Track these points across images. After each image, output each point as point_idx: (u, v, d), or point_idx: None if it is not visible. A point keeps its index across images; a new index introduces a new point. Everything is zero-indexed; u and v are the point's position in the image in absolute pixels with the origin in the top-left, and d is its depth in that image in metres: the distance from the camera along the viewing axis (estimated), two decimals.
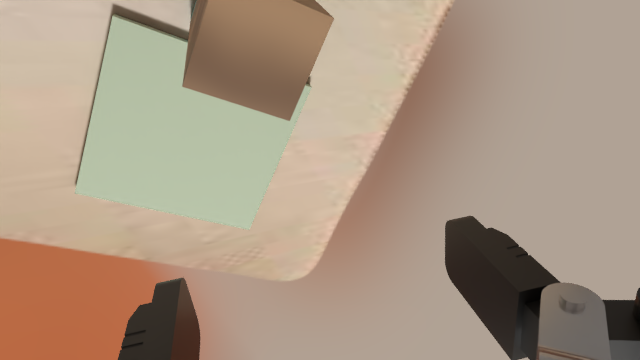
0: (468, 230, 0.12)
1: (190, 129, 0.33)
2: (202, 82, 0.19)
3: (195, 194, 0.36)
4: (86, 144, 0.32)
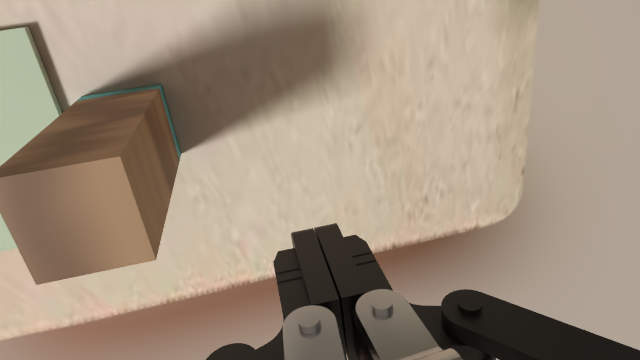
0: (326, 237, 0.13)
1: None
2: (5, 195, 0.17)
3: None
4: None
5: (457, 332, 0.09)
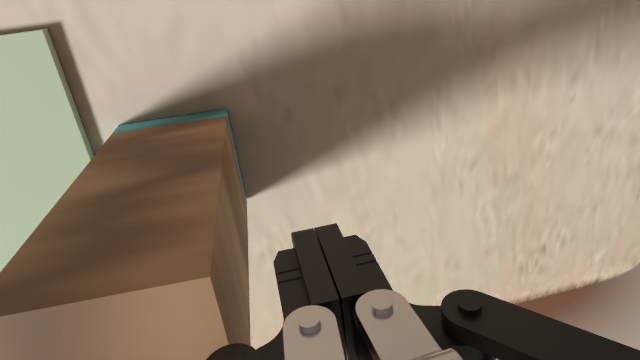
0: (326, 237, 0.13)
1: None
2: None
3: None
4: None
5: (457, 332, 0.09)
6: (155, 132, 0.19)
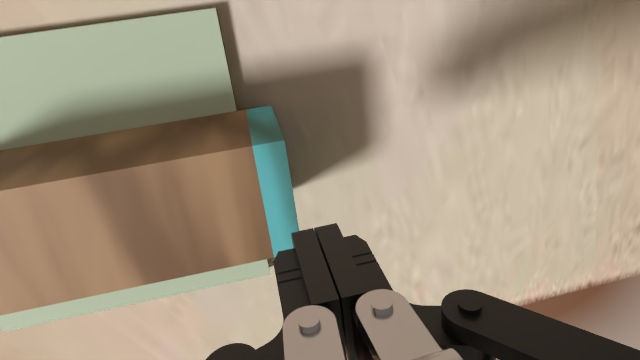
0: (326, 237, 0.13)
1: None
2: None
3: None
4: None
5: (457, 332, 0.09)
6: (228, 125, 0.19)
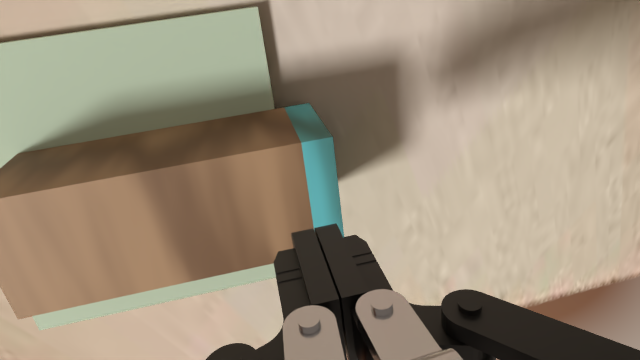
0: (326, 237, 0.13)
1: None
2: None
3: None
4: (19, 43, 0.18)
5: (457, 332, 0.09)
6: (270, 122, 0.19)
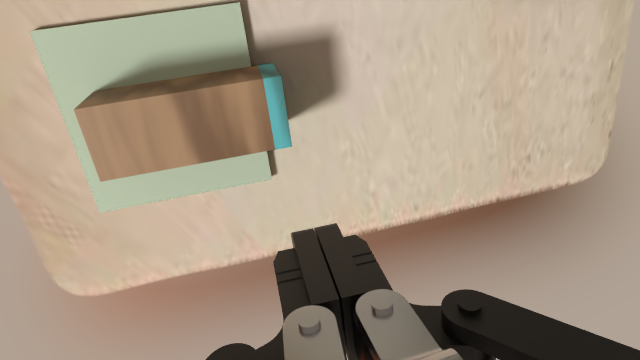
0: (326, 237, 0.13)
1: None
2: None
3: None
4: (99, 23, 0.30)
5: (457, 332, 0.09)
6: (247, 72, 0.31)
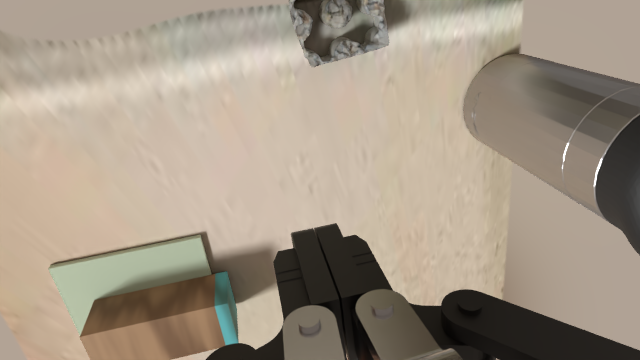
0: (326, 237, 0.13)
1: None
2: None
3: None
4: (98, 259, 0.42)
5: (457, 332, 0.09)
6: (206, 287, 0.43)
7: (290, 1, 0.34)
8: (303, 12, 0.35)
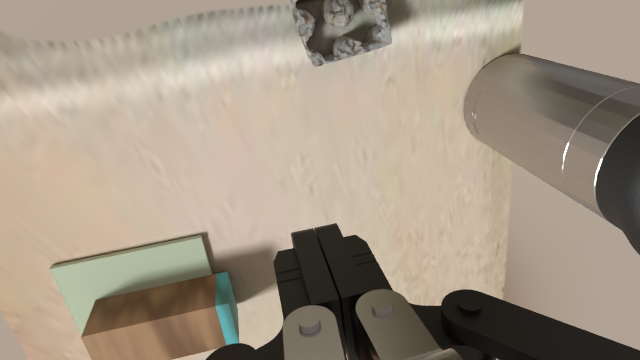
0: (326, 237, 0.13)
1: None
2: None
3: None
4: (99, 259, 0.42)
5: (457, 332, 0.09)
6: (206, 288, 0.43)
7: (292, 1, 0.34)
8: (305, 12, 0.35)
